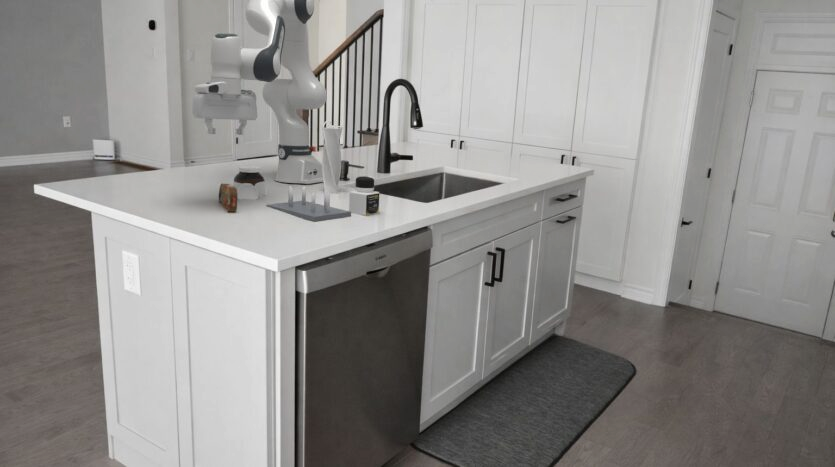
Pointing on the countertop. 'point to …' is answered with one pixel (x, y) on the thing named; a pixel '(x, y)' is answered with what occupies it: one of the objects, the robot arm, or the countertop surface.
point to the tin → (228, 197)
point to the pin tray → (310, 207)
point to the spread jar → (249, 183)
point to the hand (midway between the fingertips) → (226, 134)
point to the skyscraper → (331, 158)
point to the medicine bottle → (364, 197)
